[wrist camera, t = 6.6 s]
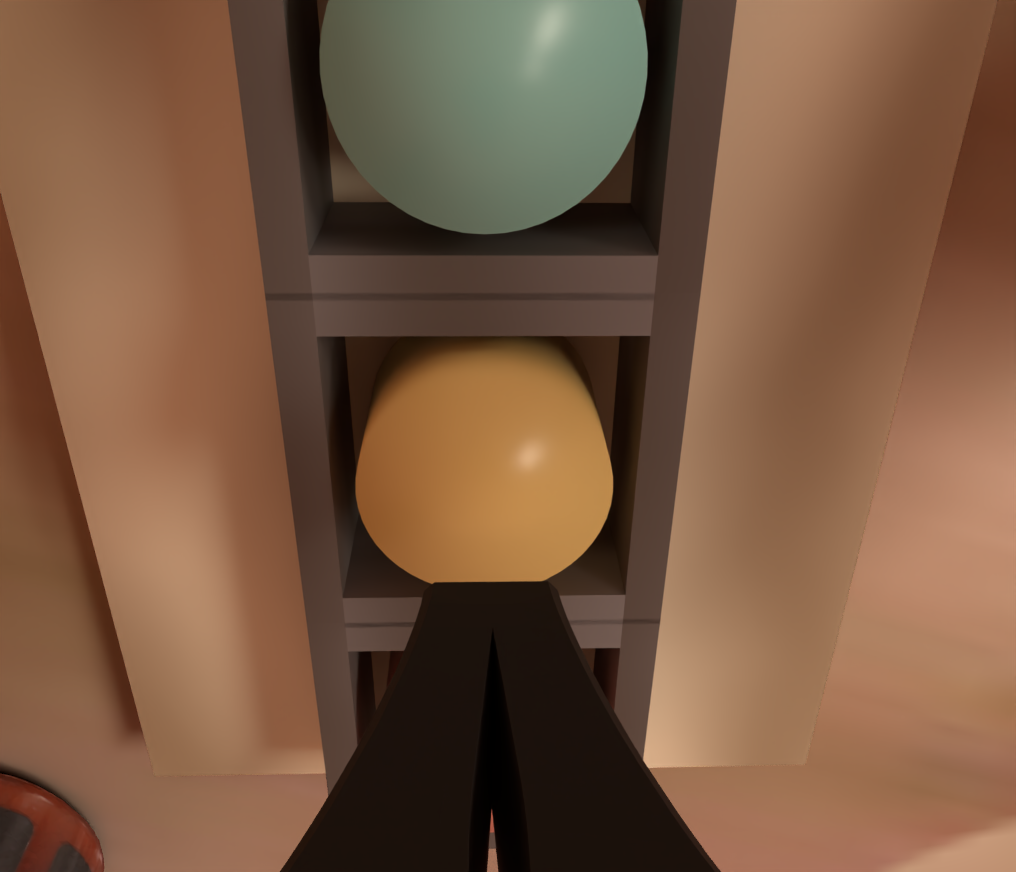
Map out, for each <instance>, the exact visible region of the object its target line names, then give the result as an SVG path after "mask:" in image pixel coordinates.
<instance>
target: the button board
mask: <svg viewBox="0 0 1016 872" xmlns="http://www.w3.org/2000/svg"><path fill="white" fill-rule="evenodd" d="M328 1H329V0H0V193H1V197H2V201H3V204H4V208H5V212H6V216H7V220H8V223H9V227H10V231H11V235H12V238H13V242H14V246H15V250H16V254H17V257H18V261H19V265H20V269H21V273H22V276H23V280H24V284H25V288H26V292H27V295H28V299H29V303H30V307H31V311H32V314H33V318H34V322H35V326H36V329H37V333H38V337H39V341H40V345H41V348H42V352H43V356H44V360H45V364H46V367H47V371H48V375H49V379H50V383H51V386H52V390H53V394H54V398H55V402H56V405H57V409H58V413H59V417H60V421H61V424H62V428H63V432H64V436H65V439H66V443H67V447H68V451H69V455H70V458H71V462H72V466H73V470H74V474H75V477H76V481H77V485H78V489H79V493H80V496H81V500H82V504H83V508H84V512H85V515H86V519H87V523H88V527H89V530H90V534H91V538H92V542H93V546H94V549H95V553H96V557H97V561H98V565H99V568H100V572H101V576H102V580H103V584H104V587H105V591H106V595H107V599H108V603H109V606H110V610H111V614H112V618H113V621H114V625H115V629H116V633H117V637H118V640H119V644H120V648H121V652H122V656H123V659H124V663H125V667H126V671H127V675H128V678H129V682H130V686H131V690H132V694H133V697H134V701H135V705H136V709H137V713H138V716H139V720H140V724H141V728H142V731H143V735H144V739H145V743H146V747H147V750H148V754H149V758H150V762H151V766H152V769H153V773H154V777H155V776H210V775H266V774H321V773H326V779H327V787H328V795H329V794H330V793H331V791H332V789H333V787H334V786H335V784H336V782H337V781H338V779H339V777H340V775H341V774H342V772H343V770H344V769H345V767H346V765H347V763H348V762H349V760H350V758H351V757H352V755H353V753H354V751H355V750H356V748H357V746H358V744H359V743H360V741H361V739H362V737H363V735H364V733H365V731H366V730H367V728H368V726H369V724H370V722H371V720H372V718H373V716H374V714H375V712H376V709H377V707H378V705H379V703H380V701H381V699H382V697H383V695H384V693H385V691H386V686H387V677H388V669H389V660H390V651H404V650H405V647H406V645H407V642H408V640H409V637H410V635H411V632H412V630H413V627H414V624H415V621H416V618H417V615H418V612H419V609H420V606H421V602H422V597H423V593H424V590H426V589H427V588H428V587H429V586H430V585H432V584H431V583H428V582H426V581H423V580H421V579H419V578H417V577H415V576H413V575H411V574H410V573H408V572H407V571H405V570H403V569H402V568H400V567H399V566H398V565H396V564H395V563H394V562H393V561H392V560H390V559H389V558H388V557H387V556H386V555H385V554H384V553H383V552H382V551H381V550H380V548H379V547H378V546H377V545H376V544H375V542H374V541H373V539H372V538H371V536H370V535H369V533H368V531H367V529H366V527H365V525H364V523H363V521H362V519H361V515H360V512H359V509H358V505H357V499H356V473H357V466H358V461H359V456H360V452H361V447H362V442H363V437H364V432H365V428H366V423H367V418H368V413H369V408H370V404H371V399H372V394H373V389H374V384H375V381H376V378H377V374H378V371H379V369H380V367H381V365H382V363H383V361H384V358H385V357H386V355H387V354H388V353H389V351H390V350H391V348H392V347H393V346H394V344H395V343H396V342H397V341H398V340H399V339H400V338H401V337H402V336H564V337H565V338H566V339H567V340H568V341H569V342H570V343H571V344H572V345H573V346H574V348H575V349H576V351H577V352H578V354H579V355H580V357H581V358H582V361H583V363H584V365H585V367H586V369H587V371H588V375H589V378H590V381H591V385H592V389H593V393H594V397H595V401H596V405H597V409H598V413H599V417H600V421H601V425H602V429H603V433H604V437H605V442H606V446H607V450H608V454H609V458H610V462H611V467H612V474H613V494H612V501H611V506H610V509H609V512H608V515H607V519H606V521H605V523H604V525H603V527H602V529H601V531H600V533H599V534H598V536H597V537H596V538H595V540H594V541H593V543H592V544H591V545H590V546H589V548H588V549H587V550H586V551H585V552H584V553H583V554H582V555H581V556H580V557H579V558H578V559H577V560H575V561H574V562H573V563H572V564H571V565H569V566H568V567H566V568H565V569H563V570H562V571H560V572H559V573H557V574H555V575H553V576H551V577H550V578H548V579H546V580H543V581H548V582H550V583H551V584H552V585H553V586H554V587H555V588H556V589H557V590H558V593H559V596H560V599H561V602H562V605H563V608H564V610H565V613H566V616H567V618H568V620H569V623H570V625H571V628H572V630H573V632H574V634H575V637H576V639H577V641H578V643H579V645H580V647H581V649H582V652H583V654H584V656H585V658H586V660H587V662H588V664H589V666H590V668H591V670H592V672H593V674H594V676H595V678H596V679H597V681H598V683H599V685H600V687H601V689H602V691H603V693H604V694H605V696H606V698H607V700H608V701H609V703H610V705H611V707H612V708H613V710H614V712H615V714H616V715H617V717H618V719H619V720H620V722H621V724H622V726H623V727H624V729H625V731H626V733H627V734H628V736H629V738H630V740H631V741H632V743H633V745H634V746H635V748H636V749H637V751H638V753H639V754H640V756H641V757H642V759H643V761H644V762H645V764H646V765H647V767H648V768H655V767H710V766H766V765H806V761H807V757H808V753H809V749H810V745H811V741H812V737H813V733H814V729H815V725H816V721H817V717H818V713H819V709H820V705H821V701H822V697H823V693H824V689H825V685H826V681H827V677H828V673H829V669H830V665H831V661H832V657H833V653H834V649H835V645H836V641H837V637H838V633H839V629H840V625H841V621H842V618H843V614H844V610H845V606H846V602H847V598H848V594H849V590H850V586H851V582H852V578H853V574H854V570H855V566H856V562H857V558H858V554H859V550H860V546H861V542H862V538H863V534H864V530H865V526H866V522H867V518H868V514H869V510H870V506H871V502H872V498H873V494H874V490H875V486H876V482H877V478H878V474H879V470H880V466H881V463H882V459H883V455H884V451H885V447H886V443H887V439H888V435H889V431H890V427H891V423H892V419H893V415H894V411H895V407H896V403H897V399H898V395H899V391H900V387H901V383H902V379H903V375H904V371H905V367H906V363H907V359H908V355H909V351H910V347H911V343H912V339H913V335H914V331H915V327H916V323H917V319H918V315H919V311H920V308H921V304H922V300H923V296H924V292H925V288H926V284H927V280H928V276H929V272H930V268H931V264H932V260H933V256H934V252H935V248H936V244H937V240H938V236H939V232H940V228H941V224H942V220H943V216H944V212H945V208H946V204H947V200H948V196H949V192H950V188H951V184H952V180H953V176H954V172H955V168H956V164H957V160H958V156H959V153H960V149H961V145H962V141H963V137H964V133H965V129H966V125H967V121H968V117H969V113H970V109H971V105H972V101H973V97H974V93H975V89H976V85H977V81H978V77H979V73H980V69H981V65H982V61H983V57H984V53H985V49H986V45H987V41H988V37H989V33H990V29H991V25H992V21H993V17H994V13H995V9H996V5H997V1H998V0H637V1H638V3H639V6H640V9H641V14H642V18H643V22H644V27H645V32H646V42H647V52H648V59H647V80H646V87H645V94H644V100H643V104H642V107H641V111H640V115H639V118H638V121H637V124H636V126H635V129H634V131H633V134H632V136H631V138H630V141H629V142H628V144H627V146H626V148H625V150H624V151H623V153H622V155H621V157H620V159H619V160H618V161H617V163H616V164H615V165H614V167H613V168H612V170H611V171H610V172H609V174H608V175H607V176H606V177H605V178H604V179H603V181H602V182H601V183H600V184H599V185H598V186H597V187H596V188H595V189H594V190H593V191H592V192H591V193H590V194H588V195H587V196H586V197H585V198H584V199H582V200H581V201H580V202H579V203H578V204H576V205H575V206H573V207H572V208H570V209H568V210H567V211H565V212H564V213H562V214H561V215H559V216H556V217H554V218H552V219H550V220H548V221H546V222H544V223H542V224H538V225H535V226H532V227H529V228H526V229H523V230H518V231H513V232H507V233H498V234H472V233H462V232H457V231H452V230H447V229H443V228H440V227H437V226H434V225H431V224H428V223H426V222H424V221H422V220H419V219H417V218H415V217H413V216H411V215H409V214H407V213H406V212H404V211H403V210H401V209H400V208H398V207H396V206H395V205H393V204H392V203H390V202H389V201H388V200H387V199H386V198H384V197H383V196H382V195H381V194H380V193H378V192H377V191H376V190H375V189H374V188H373V187H372V186H371V185H370V184H369V183H368V182H367V180H366V179H365V178H364V177H363V176H362V175H361V174H360V173H359V171H358V170H357V168H356V167H355V166H354V164H353V163H352V162H351V160H350V159H349V157H348V156H347V154H346V152H345V150H344V149H343V147H342V145H341V143H340V141H339V140H338V138H337V135H336V133H335V130H334V128H333V126H332V123H331V121H330V118H329V115H328V111H327V107H326V104H325V100H324V97H323V90H322V83H321V77H320V41H321V31H322V25H323V20H324V16H325V12H326V7H327V4H328ZM493 848H496V844H495V834H494V832H493V833H490V838H489V849H493Z"/></svg>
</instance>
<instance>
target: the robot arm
mask: <svg viewBox="0 0 1016 872" xmlns="http://www.w3.org/2000/svg"><path fill="white" fill-rule="evenodd" d="M491 812H492V815H493V825H494V834H495V844H496V853H497V862H498V872H721V871H720V870H719V869H718V868H717V866H716V865H715V864H714V862H713V861H712V860H711V858H710V857H709V856H708V854H707V853H706V852H705V850H704V849H703V848H702V846H701V845H700V843H699V842H698V841H697V839H696V838H695V837H694V835H693V834H692V832H691V831H690V829H689V828H688V827H687V825H686V824H685V822H684V821H683V819H682V818H681V817H680V815H679V814H678V812H677V811H676V809H675V808H674V806H673V805H672V803H671V802H670V800H669V799H668V797H667V796H666V794H665V793H664V791H663V790H662V788H661V787H660V785H659V784H658V782H657V781H656V779H655V778H654V776H653V775H652V773H651V772H650V770H649V769H648V767H647V765H646V764H645V762H644V761H643V759H642V757H641V756H640V754H639V753H638V751H637V749H636V748H635V746H634V745H633V743H632V741H631V740H630V738H629V736H628V734H627V733H626V731H625V729H624V727H623V726H622V724H621V722H620V720H619V719H618V717H617V715H616V714H615V712H614V710H613V708H612V707H611V705H610V703H609V701H608V700H607V698H606V696H605V694H604V693H603V691H602V689H601V687H600V685H599V683H598V681H597V679H596V678H595V676H594V674H593V672H592V670H591V668H590V666H589V664H588V662H587V660H586V658H585V656H584V654H583V652H582V649H581V647H580V645H579V643H578V641H577V639H576V637H575V634H574V632H573V630H572V628H571V625H570V623H569V620H568V618H567V616H566V613H565V610H564V608H563V605H562V602H561V599H560V596H559V593H558V590H557V589H556V588H555V587H554V586H553V585H552V584H551V583H550V582H548V581H510V582H434V583H433V584H432V585H430V586H429V587H428V588H427V589H426V590H424V593H423V597H422V602H421V606H420V609H419V612H418V615H417V618H416V621H415V624H414V627H413V630H412V632H411V635H410V637H409V640H408V642H407V645H406V647H405V650H404V652H403V654H402V657H401V659H400V661H399V664H398V666H397V668H396V671H395V673H394V675H393V677H392V679H391V681H390V683H389V685H388V687H387V689H386V691H385V693H384V695H383V697H382V699H381V701H380V703H379V705H378V707H377V709H376V712H375V714H374V716H373V718H372V720H371V722H370V724H369V726H368V728H367V730H366V731H365V733H364V735H363V737H362V739H361V741H360V743H359V744H358V746H357V748H356V750H355V751H354V753H353V755H352V757H351V758H350V760H349V762H348V763H347V765H346V767H345V769H344V770H343V772H342V774H341V775H340V777H339V779H338V781H337V782H336V784H335V786H334V787H333V789H332V791H331V793H330V794H329V796H328V798H327V800H326V801H325V803H324V805H323V806H322V808H321V810H320V811H319V813H318V814H317V816H316V818H315V819H314V821H313V822H312V824H311V825H310V827H309V829H308V830H307V832H306V833H305V835H304V836H303V838H302V840H301V841H300V843H299V844H298V846H297V847H296V849H295V850H294V852H293V853H292V855H291V856H290V858H289V859H288V861H287V862H286V864H285V865H284V867H283V868H282V869H281V871H280V872H487V864H488V851H489V838H490V825H491Z"/></svg>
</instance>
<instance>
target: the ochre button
mask: <svg viewBox="0 0 1016 872" xmlns="http://www.w3.org/2000/svg"><path fill="white" fill-rule="evenodd" d="M612 494H613V474H612V467H611V462H610V458H609V454H608V450H607V446H606V442H605V437H604V433H603V429H602V425H601V421H600V417H599V413H598V409H597V405H596V401H595V397H594V393H593V389H592V385H591V381H590V378H589V375H588V371H587V369H586V367H585V365H584V363H583V361H582V358H581V357H580V355H579V354H578V352H577V351H576V349H575V348H574V346H573V345H572V344H571V343H570V342H569V341H568V340H567V339H566V338H565V337H564V336H402V337H401V338H400V339H399V340H398V341H397V342H396V343H395V344H394V346H393V347H392V348H391V350H390V351H389V353H388V354H387V355H386V357H385V358H384V361H383V363H382V365H381V367H380V369H379V371H378V374H377V378H376V381H375V384H374V389H373V394H372V399H371V404H370V408H369V413H368V418H367V423H366V428H365V432H364V437H363V442H362V447H361V452H360V456H359V461H358V466H357V473H356V499H357V505H358V509H359V512H360V515H361V519H362V521H363V523H364V525H365V527H366V529H367V531H368V533H369V535H370V536H371V538H372V539H373V541H374V542H375V544H376V545H377V546H378V547H379V548H380V550H381V551H382V552H383V553H384V554H385V555H386V556H387V557H388V558H389V559H390V560H392V561H393V562H394V563H395V564H396V565H398V566H399V567H400V568H402V569H403V570H405V571H407V572H408V573H410V574H411V575H413V576H415V577H417V578H419V579H421V580H423V581H426V582H428V583H431V584H433V583H434V582H510V581H543V580H546V579H548V578H550V577H551V576H553V575H555V574H557V573H559V572H560V571H562V570H563V569H565V568H566V567H568V566H569V565H571V564H572V563H573V562H574V561H575V560H577V559H578V558H579V557H580V556H581V555H582V554H583V553H584V552H585V551H586V550H587V549H588V548H589V546H590V545H591V544H592V543H593V541H594V540H595V538H596V537H597V536H598V534H599V533H600V531H601V529H602V527H603V525H604V523H605V521H606V519H607V515H608V512H609V509H610V506H611V501H612Z"/></svg>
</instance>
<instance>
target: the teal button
mask: <svg viewBox="0 0 1016 872" xmlns="http://www.w3.org/2000/svg"><path fill="white" fill-rule="evenodd" d="M647 59H648V52H647V42H646V32H645V27H644V22H643V18H642V14H641V9H640V6H639V3H638V1H637V0H329V1H328V4H327V7H326V12H325V16H324V20H323V25H322V31H321V41H320V77H321V83H322V90H323V97H324V100H325V104H326V107H327V111H328V115H329V118H330V121H331V123H332V126H333V128H334V130H335V133H336V135H337V138H338V140H339V141H340V143H341V145H342V147H343V149H344V150H345V152H346V154H347V156H348V157H349V159H350V160H351V162H352V163H353V164H354V166H355V167H356V168H357V170H358V171H359V173H360V174H361V175H362V176H363V177H364V178H365V179H366V180H367V182H368V183H369V184H370V185H371V186H372V187H373V188H374V189H375V190H376V191H377V192H378V193H380V194H381V195H382V196H383V197H384V198H386V199H387V200H388V201H389V202H390V203H392V204H393V205H395V206H396V207H398V208H400V209H401V210H403V211H404V212H406V213H407V214H409V215H411V216H413V217H415V218H417V219H419V220H422V221H424V222H426V223H428V224H431V225H434V226H437V227H440V228H443V229H447V230H452V231H457V232H462V233H472V234H498V233H507V232H513V231H518V230H523V229H526V228H529V227H532V226H535V225H538V224H542V223H544V222H546V221H548V220H550V219H552V218H554V217H556V216H559V215H561V214H562V213H564V212H565V211H567V210H568V209H570V208H572V207H573V206H575V205H576V204H578V203H579V202H580V201H581V200H582V199H584V198H585V197H586V196H587V195H588V194H590V193H591V192H592V191H593V190H594V189H595V188H596V187H597V186H598V185H599V184H600V183H601V182H602V181H603V179H604V178H605V177H606V176H607V175H608V174H609V172H610V171H611V170H612V168H613V167H614V165H615V164H616V163H617V161H618V160H619V159H620V157H621V155H622V153H623V151H624V150H625V148H626V146H627V144H628V142H629V141H630V138H631V136H632V134H633V131H634V129H635V126H636V124H637V121H638V118H639V115H640V111H641V107H642V104H643V100H644V94H645V87H646V80H647Z"/></svg>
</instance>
